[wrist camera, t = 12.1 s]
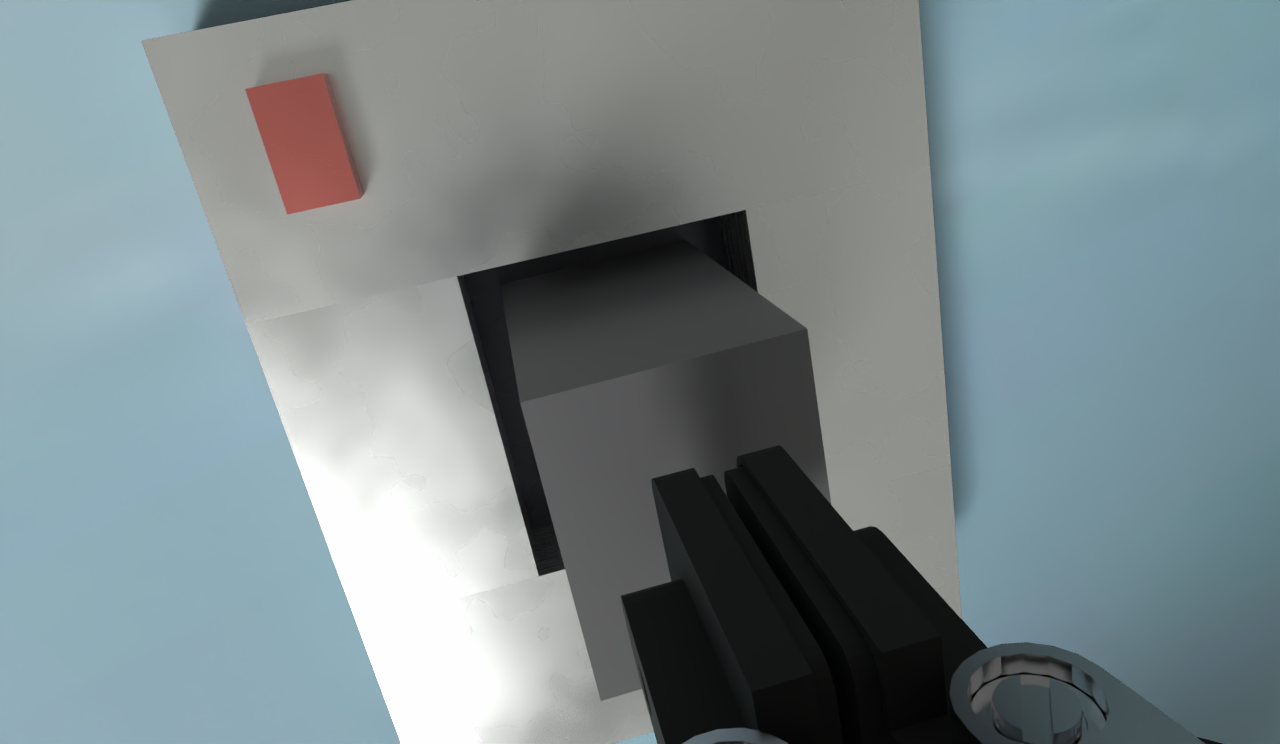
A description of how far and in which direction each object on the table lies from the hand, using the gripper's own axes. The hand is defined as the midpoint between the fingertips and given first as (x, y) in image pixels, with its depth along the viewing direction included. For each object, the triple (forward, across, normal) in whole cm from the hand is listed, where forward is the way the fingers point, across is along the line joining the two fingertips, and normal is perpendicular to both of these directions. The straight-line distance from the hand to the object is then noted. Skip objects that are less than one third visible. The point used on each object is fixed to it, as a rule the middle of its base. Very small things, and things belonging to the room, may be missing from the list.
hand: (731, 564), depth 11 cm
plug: (+8, 0, 0) cm, 9 cm away
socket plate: (+9, 0, 0) cm, 9 cm away
